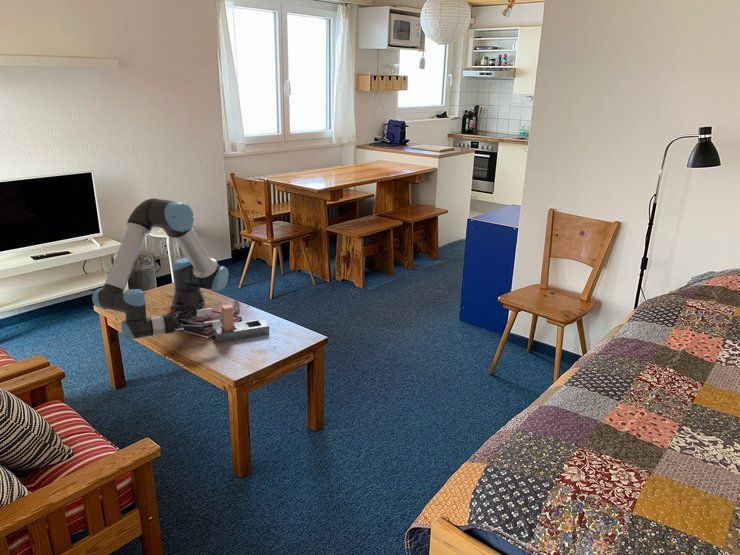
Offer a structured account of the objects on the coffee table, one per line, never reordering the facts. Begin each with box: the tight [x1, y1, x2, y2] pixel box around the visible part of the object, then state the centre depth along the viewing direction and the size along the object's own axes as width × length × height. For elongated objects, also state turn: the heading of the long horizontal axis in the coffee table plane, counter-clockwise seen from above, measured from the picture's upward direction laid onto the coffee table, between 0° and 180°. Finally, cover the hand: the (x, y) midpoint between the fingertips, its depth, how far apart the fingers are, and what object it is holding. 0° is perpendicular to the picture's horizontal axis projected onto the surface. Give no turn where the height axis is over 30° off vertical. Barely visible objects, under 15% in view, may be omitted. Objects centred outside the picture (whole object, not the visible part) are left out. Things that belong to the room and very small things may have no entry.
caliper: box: [210, 299, 241, 321], centre depth 261 cm, size 20×1×6 cm, turn 152°
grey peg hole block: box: [212, 318, 270, 344], centre depth 245 cm, size 9×22×4 cm, turn 118°
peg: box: [221, 303, 235, 331], centre depth 241 cm, size 4×4×14 cm
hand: (216, 316), depth 237 cm, fingers open, 13 cm apart
